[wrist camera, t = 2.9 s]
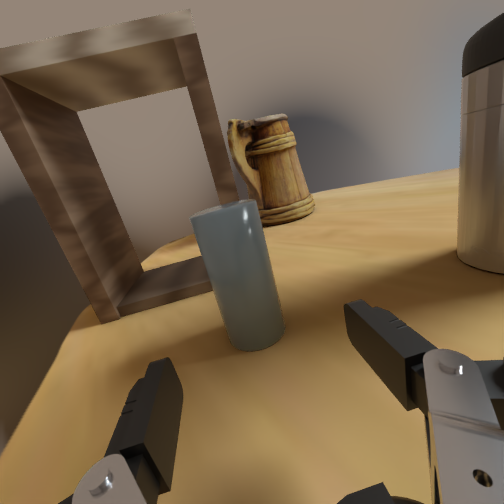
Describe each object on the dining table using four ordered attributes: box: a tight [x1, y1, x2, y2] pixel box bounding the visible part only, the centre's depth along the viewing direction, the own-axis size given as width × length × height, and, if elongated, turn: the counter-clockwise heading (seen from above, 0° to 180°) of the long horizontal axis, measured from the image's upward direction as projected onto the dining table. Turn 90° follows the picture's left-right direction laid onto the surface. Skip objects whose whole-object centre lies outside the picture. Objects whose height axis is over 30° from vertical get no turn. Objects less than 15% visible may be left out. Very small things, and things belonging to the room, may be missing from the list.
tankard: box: [227, 114, 315, 226], centre depth 62 cm, size 18×24×25 cm
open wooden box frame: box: [0, 9, 239, 324], centre depth 35 cm, size 22×14×30 cm, turn 99°
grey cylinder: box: [189, 199, 285, 351], centre depth 22 cm, size 6×6×12 cm
